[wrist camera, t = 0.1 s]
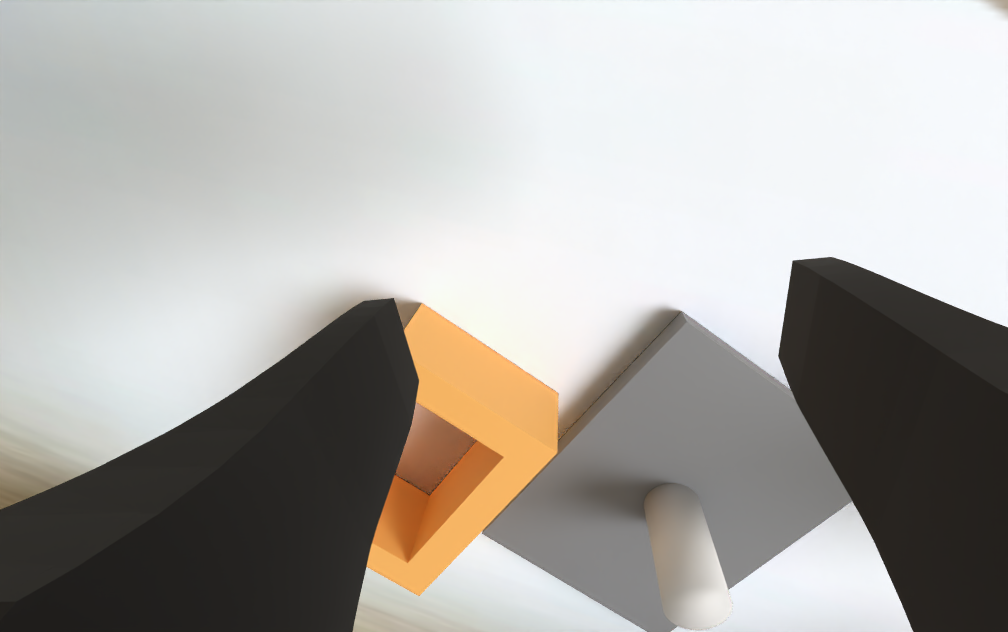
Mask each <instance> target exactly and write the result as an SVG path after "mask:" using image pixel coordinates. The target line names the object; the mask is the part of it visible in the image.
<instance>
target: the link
mask: <svg viewBox="0 0 1008 632" xmlns="http://www.w3.org/2000/svg"><path fill="white" fill-rule="evenodd" d="M404 333H405V336H406V339H407V342H408V346H409V349H410V352H411V355H412V359H413V362H414V365H415V368H416V371H417V375H418V378H419V385H418V391H417V397H416V402H417V403H418V404H420V405H422V406H423V407H425V408H426V409H428V410H430V411H431V412H433V413H434V414H436V415H438V416H439V417H441V418H442V419H444V420H446V421H447V422H449V423H450V424H452V425H454V426H455V427H457V428H458V429H460V430H462V431H463V432H465V433H466V434H468V435H470V436H471V437H473V438H474V439H476V440H477V441H476V442H475V443H474V444H473V446H472V447H471V448H470V449H469V450H468V451H467V453H466V454H465V455H464V456H463V457H462V458H461V460H460V461H459V462H458V463H457V464H456V465H455V467H454V468H453V469H452V470H451V471H450V472H449V474H448V475H447V476H446V477H445V478H444V479H443V481H442V482H441V483H440V484H439V485H438V486H437V488H436V489H435V490H434V491H433V492H432V493H431V495H428V494H426V493H425V492H423V491H421V490H419V489H418V488H416V487H414V486H413V485H411V484H409V483H408V482H406V481H404V480H403V479H401V478H399V477H398V476H396V475H394V478H393V481H392V484H391V487H390V490H389V493H388V496H387V499H386V502H385V505H384V508H383V510H382V513H381V516H380V519H379V522H378V525H377V528H376V532H375V535H374V539H373V542H372V545H371V549H370V553H369V557H368V562H367V566H366V567H368V568H370V569H371V570H373V571H375V572H377V573H379V574H380V575H382V576H384V577H386V578H388V579H389V580H391V581H393V582H395V583H396V584H398V585H400V586H402V587H404V588H405V589H407V590H409V591H411V592H413V593H414V594H416V595H418V596H420V595H421V594H422V593H423V592H424V591H425V589H426V588H427V587H428V586H429V585H430V584H431V583H432V582H433V581H434V580H435V579H436V578H437V577H438V576H439V575H440V574H441V573H442V572H443V571H444V570H445V569H446V568H447V567H448V566H449V565H450V564H451V563H452V561H453V560H454V559H455V558H456V557H457V556H458V555H459V554H460V553H461V552H462V551H463V550H464V549H465V548H466V547H467V546H468V545H469V544H470V543H471V542H472V541H473V540H474V539H475V538H476V537H477V536H478V535H479V533H480V532H481V531H482V530H483V529H484V528H485V527H486V526H487V525H488V524H489V523H490V522H491V521H492V520H493V519H494V518H495V517H496V516H497V515H498V514H499V513H500V512H501V511H502V510H503V509H504V508H505V507H506V505H507V504H508V503H509V502H510V501H511V500H512V499H513V498H514V497H515V496H516V495H517V494H518V493H519V492H520V491H521V490H522V489H523V488H524V487H525V486H526V485H527V484H528V483H529V482H530V481H531V480H532V479H533V477H534V476H535V475H536V474H537V473H538V472H539V471H540V470H541V469H542V468H543V467H544V466H545V465H546V464H547V463H548V462H549V461H550V460H551V459H552V458H553V457H554V456H555V455H556V454H557V445H558V393H557V392H556V391H554V390H553V389H551V388H549V387H548V386H546V385H545V384H543V383H542V382H540V381H539V380H537V379H536V378H534V377H533V376H531V375H530V374H528V373H527V372H525V371H524V370H522V369H521V368H519V367H518V366H516V365H515V364H513V363H512V362H510V361H509V360H507V359H506V358H504V357H503V356H501V355H500V354H498V353H497V352H495V351H494V350H492V349H491V348H489V347H487V346H486V345H484V344H483V343H481V342H480V341H478V340H477V339H475V338H474V337H472V336H471V335H469V334H468V333H466V332H465V331H463V330H462V329H460V328H459V327H457V326H456V325H454V324H453V323H451V322H450V321H448V320H447V319H445V318H444V317H442V316H441V315H439V314H438V313H436V312H435V311H433V310H432V309H430V308H429V307H427V306H425V305H424V304H421V305H420V307H419V308H418V310H417V311H416V313H415V314H414V315H413V317H412V318H411V320H410V321H409V323H408V324H407V326H406V327H405V329H404Z"/></svg>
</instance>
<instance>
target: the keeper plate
mask: <svg viewBox="0 0 1008 632" xmlns="http://www.w3.org/2000/svg"><path fill="white" fill-rule="evenodd" d="M851 501H852V500H851V498H850V496H849V494H848V493H847V491H846V489H845V487H844V486H843V484H842V482H841V481H840V479H839V477H838V475H837V474H836V472H835V470H834V468H833V467H832V465H831V463H830V461H829V460H828V458H827V456H826V455H825V453H824V451H823V449H822V448H821V446H820V444H819V442H818V441H817V439H816V437H815V435H814V434H813V432H812V430H811V428H810V427H809V425H808V423H807V421H806V419H805V418H804V416H803V414H802V412H801V410H800V409H799V407H798V405H797V403H796V401H795V398H794V396H793V393H792V391H791V390H790V389H789V388H787V387H786V386H784V385H783V384H782V383H780V382H779V381H778V380H776V379H775V378H773V377H772V376H771V375H769V374H768V373H766V372H765V371H764V370H762V369H761V368H760V367H758V366H757V365H755V364H754V363H753V362H751V361H750V360H748V359H747V358H746V357H744V356H743V355H742V354H740V353H739V352H737V351H736V350H735V349H733V348H732V347H731V346H729V345H728V344H726V343H725V342H724V341H722V340H721V339H719V338H718V337H717V336H715V335H714V334H713V333H711V332H710V331H708V330H707V329H706V328H704V327H703V326H702V325H700V324H699V323H697V322H696V321H695V320H693V319H692V318H690V317H689V316H688V315H686V314H685V313H684V312H682V311H681V312H680V313H679V315H678V316H677V317H676V318H675V319H674V320H673V321H672V322H671V323H670V324H669V325H668V326H667V327H666V328H665V329H664V330H663V331H662V332H661V333H660V335H659V336H658V337H657V338H656V339H655V340H654V341H653V342H652V343H651V344H650V345H649V346H648V347H647V348H646V349H645V350H644V351H643V352H642V353H641V354H640V356H639V357H638V358H637V359H636V360H635V361H634V362H633V363H632V364H631V365H630V366H629V367H628V368H627V369H626V370H625V371H624V372H623V373H622V374H621V375H620V377H619V378H618V379H617V380H616V381H615V382H614V383H613V384H612V385H611V386H610V387H609V388H608V389H607V390H606V391H605V392H604V393H603V394H602V395H601V396H600V398H599V399H598V400H597V401H596V402H595V403H594V404H593V405H592V406H591V407H590V408H589V409H588V410H587V411H586V412H585V413H584V414H583V415H582V416H581V417H580V419H579V420H578V421H577V422H576V423H575V424H574V425H573V426H572V427H571V428H570V429H569V430H568V431H567V432H566V433H565V434H564V435H563V436H562V437H561V438H560V440H559V441H558V445H557V454H556V455H555V456H554V457H553V458H552V459H551V460H550V461H549V462H548V463H547V464H546V465H545V466H544V467H543V468H542V469H541V470H540V471H539V472H538V473H537V474H536V475H535V476H534V477H533V479H532V480H531V481H530V482H529V483H528V484H527V485H526V486H525V487H524V488H523V489H522V490H521V491H520V492H519V493H518V494H517V495H516V496H515V497H514V498H513V499H512V500H511V501H510V502H509V503H508V504H507V505H506V507H505V508H504V509H503V510H502V511H501V512H500V513H499V514H498V515H497V516H496V517H495V518H494V519H493V520H492V521H491V522H490V523H489V524H488V525H487V526H486V527H485V528H484V529H483V532H482V534H484V535H485V536H487V537H489V538H491V539H492V540H494V541H496V542H497V543H499V544H501V545H502V546H504V547H506V548H507V549H509V550H511V551H512V552H514V553H516V554H517V555H519V556H521V557H523V558H524V559H526V560H528V561H529V562H531V563H533V564H534V565H536V566H538V567H539V568H541V569H543V570H544V571H546V572H548V573H549V574H551V575H553V576H555V577H556V578H558V579H560V580H561V581H563V582H565V583H566V584H568V585H570V586H571V587H573V588H575V589H576V590H578V591H580V592H582V593H583V594H585V595H587V596H588V597H590V598H592V599H593V600H595V601H597V602H598V603H600V604H602V605H603V606H605V607H607V608H608V609H610V610H612V611H614V612H615V613H617V614H619V615H620V616H622V617H624V618H625V619H627V620H629V621H630V622H632V623H634V624H635V625H637V626H639V627H640V628H642V629H644V630H646V631H647V632H670V631H672V630H673V629H675V628H676V627H677V626H679V627H682V628H685V629H690V630H705V629H710V628H713V627H716V626H718V625H720V624H722V623H723V622H725V621H726V620H727V619H728V618H729V616H730V615H731V613H732V610H733V603H732V600H731V597H730V594H729V591H728V590H729V589H730V588H732V587H733V586H734V585H736V584H737V583H739V582H740V581H741V580H743V579H744V578H746V577H747V576H748V575H750V574H751V573H753V572H754V571H755V570H757V569H758V568H759V567H761V566H762V565H764V564H765V563H766V562H768V561H769V560H771V559H772V558H773V557H775V556H776V555H778V554H779V553H780V552H782V551H783V550H785V549H786V548H787V547H789V546H790V545H791V544H793V543H794V542H796V541H797V540H798V539H800V538H801V537H803V536H804V535H805V534H807V533H808V532H810V531H811V530H812V529H814V528H815V527H816V526H818V525H819V524H821V523H822V522H823V521H825V520H826V519H828V518H829V517H830V516H832V515H833V514H835V513H836V512H837V511H839V510H840V509H842V508H843V507H844V506H846V505H847V504H848V503H850V502H851Z"/></svg>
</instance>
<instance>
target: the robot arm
mask: <svg viewBox="0 0 1008 632" xmlns="http://www.w3.org/2000/svg"><path fill="white" fill-rule="evenodd" d="M778 356H779V359H780V362H781V364H782V367H783V370H784V373H785V375H786V378H787V381H788V383H789V386H790V388H791V391H792V393H793V396H794V398H795V401H796V403H797V405H798V407H799V409H800V410H801V412H802V414H803V416H804V418H805V419H806V421H807V423H808V425H809V427H810V428H811V430H812V432H813V434H814V435H815V437H816V439H817V441H818V442H819V444H820V446H821V448H822V449H823V451H824V453H825V455H826V456H827V458H828V460H829V461H830V463H831V465H832V467H833V468H834V470H835V472H836V474H837V475H838V477H839V479H840V481H841V482H842V484H843V486H844V487H845V489H846V491H847V493H848V494H849V496H850V498H851V500H852V501H853V503H854V505H855V506H856V508H857V510H858V512H859V513H860V515H861V517H862V519H863V521H864V523H865V525H866V527H867V529H868V531H869V533H870V534H871V536H872V538H873V540H874V542H875V544H876V547H877V549H878V551H879V553H880V556H881V558H882V560H883V562H884V565H885V567H886V569H887V571H888V574H889V576H890V578H891V580H892V583H893V585H894V587H895V590H896V592H897V594H898V596H899V599H900V601H901V603H902V605H903V608H904V610H905V613H906V615H907V618H908V620H909V622H910V625H911V627H912V630H913V632H1008V327H1005V326H1002V325H1000V324H997V323H994V322H992V321H989V320H986V319H984V318H981V317H979V316H976V315H974V314H971V313H969V312H966V311H964V310H961V309H959V308H957V307H954V306H952V305H949V304H947V303H944V302H942V301H940V300H937V299H935V298H932V297H930V296H928V295H925V294H923V293H921V292H918V291H916V290H914V289H911V288H909V287H907V286H904V285H902V284H900V283H897V282H895V281H893V280H890V279H888V278H886V277H883V276H881V275H878V274H876V273H874V272H871V271H869V270H866V269H864V268H861V267H859V266H856V265H854V264H851V263H848V262H846V261H843V260H840V259H836V258H833V257H827V258H816V259H805V260H795V261H793V262H792V269H791V276H790V282H789V289H788V295H787V302H786V309H785V315H784V322H783V329H782V335H781V342H780V348H779V355H778ZM418 385H419V378H418V375H417V371H416V368H415V365H414V362H413V359H412V355H411V352H410V349H409V346H408V342H407V339H406V336H405V333H404V330H403V326H402V323H401V320H400V317H399V314H398V310H397V307H396V304H395V301H394V298H391V299H381V300H370V301H363V302H362V303H360V304H358V305H356V306H355V307H353V308H352V309H350V310H349V311H347V312H346V313H344V314H343V315H341V316H340V317H339V318H337V319H336V320H335V321H333V322H332V323H330V324H329V325H328V326H326V327H325V328H324V329H322V330H321V331H320V332H318V333H317V334H316V335H314V336H313V337H312V338H310V339H309V340H308V341H306V342H305V343H304V344H302V345H301V346H299V347H298V348H297V349H295V350H294V351H293V352H291V353H290V354H289V355H287V356H286V357H285V358H283V359H282V360H280V361H279V362H277V363H276V364H275V365H273V366H272V367H270V368H269V369H267V370H266V371H264V372H263V373H262V374H260V375H259V376H257V377H256V378H254V379H253V380H251V381H250V382H248V383H247V384H246V385H244V386H243V387H241V388H240V389H238V390H237V391H235V392H234V393H232V394H231V395H229V396H228V397H226V398H224V399H223V400H221V401H220V402H218V403H216V404H215V405H213V406H212V407H210V408H208V409H207V410H205V411H203V412H201V413H200V414H198V415H196V416H195V417H193V418H191V419H189V420H188V421H186V422H184V423H182V424H181V425H179V426H177V427H175V428H174V429H172V430H170V431H168V432H166V433H165V434H163V435H161V436H159V437H157V438H155V439H153V440H151V441H149V442H147V443H145V444H143V445H141V446H139V447H137V448H135V449H133V450H131V451H129V452H127V453H125V454H123V455H121V456H119V457H117V458H115V459H113V460H111V461H109V462H107V463H106V464H104V465H102V466H100V467H97V468H95V469H93V470H91V471H89V472H87V473H84V474H82V475H80V476H78V477H76V478H73V479H71V480H69V481H67V482H65V483H62V484H60V485H58V486H56V487H54V488H51V489H49V490H46V491H44V492H42V493H39V494H37V495H35V496H32V497H30V498H28V499H25V500H23V501H21V502H18V503H16V504H13V505H11V506H9V507H6V508H4V509H1V510H0V632H352V631H353V626H354V621H355V616H356V611H357V606H358V601H359V597H360V592H361V588H362V584H363V579H364V575H365V570H366V566H367V562H368V557H369V553H370V549H371V545H372V542H373V539H374V535H375V532H376V528H377V525H378V522H379V519H380V516H381V513H382V510H383V508H384V505H385V502H386V499H387V496H388V493H389V490H390V487H391V484H392V481H393V478H394V475H395V472H396V469H397V467H398V464H399V461H400V458H401V455H402V452H403V449H404V446H405V443H406V440H407V437H408V433H409V430H410V427H411V424H412V419H413V414H414V409H415V403H416V397H417V391H418Z"/></svg>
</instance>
